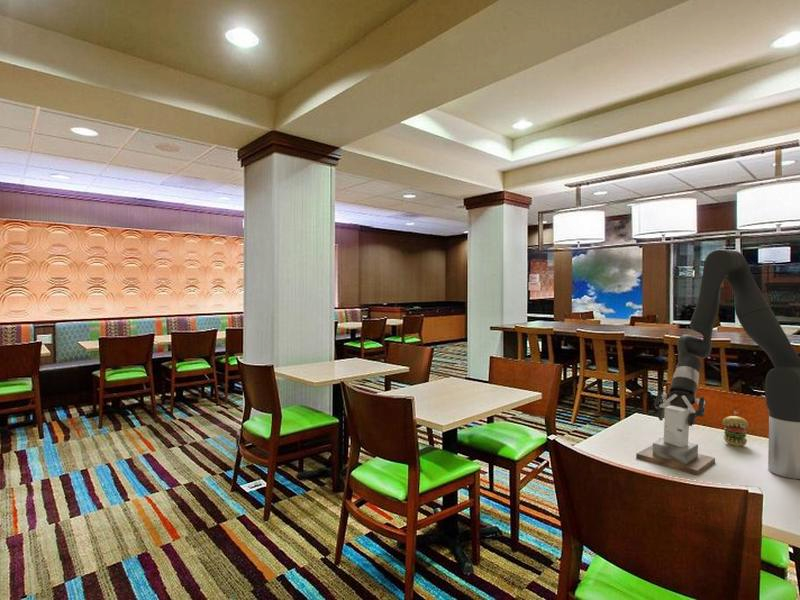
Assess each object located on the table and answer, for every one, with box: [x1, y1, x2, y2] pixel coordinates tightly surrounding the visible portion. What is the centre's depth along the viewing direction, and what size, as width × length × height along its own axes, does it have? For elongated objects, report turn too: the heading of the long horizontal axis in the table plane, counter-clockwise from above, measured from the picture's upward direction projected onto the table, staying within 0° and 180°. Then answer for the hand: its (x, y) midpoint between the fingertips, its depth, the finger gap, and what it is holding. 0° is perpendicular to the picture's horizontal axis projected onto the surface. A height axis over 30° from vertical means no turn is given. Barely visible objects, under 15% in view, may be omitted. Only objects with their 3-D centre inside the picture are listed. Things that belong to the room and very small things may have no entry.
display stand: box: [636, 436, 716, 476], centre depth 148 cm, size 18×16×6 cm
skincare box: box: [663, 405, 690, 447], centre depth 147 cm, size 6×4×12 cm
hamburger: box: [722, 410, 749, 447], centre depth 162 cm, size 8×7×12 cm
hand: (674, 422), depth 147 cm, fingers open, 8 cm apart
